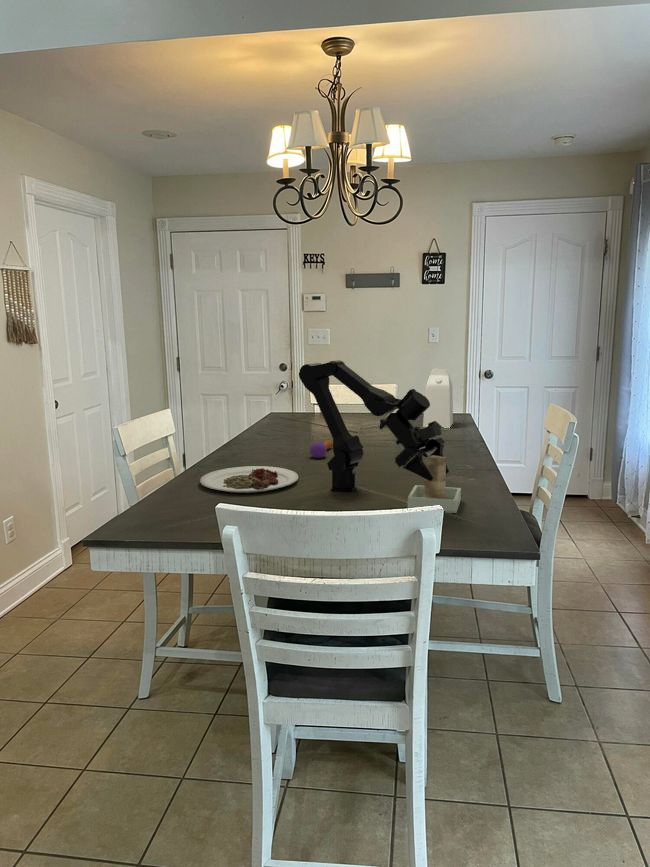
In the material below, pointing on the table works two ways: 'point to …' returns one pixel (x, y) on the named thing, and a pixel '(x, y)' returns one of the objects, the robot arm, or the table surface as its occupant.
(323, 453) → the purple and orange maraca
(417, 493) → the box
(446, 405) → the milk
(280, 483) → the plated food
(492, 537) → the table surface
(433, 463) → the wooden block tower
